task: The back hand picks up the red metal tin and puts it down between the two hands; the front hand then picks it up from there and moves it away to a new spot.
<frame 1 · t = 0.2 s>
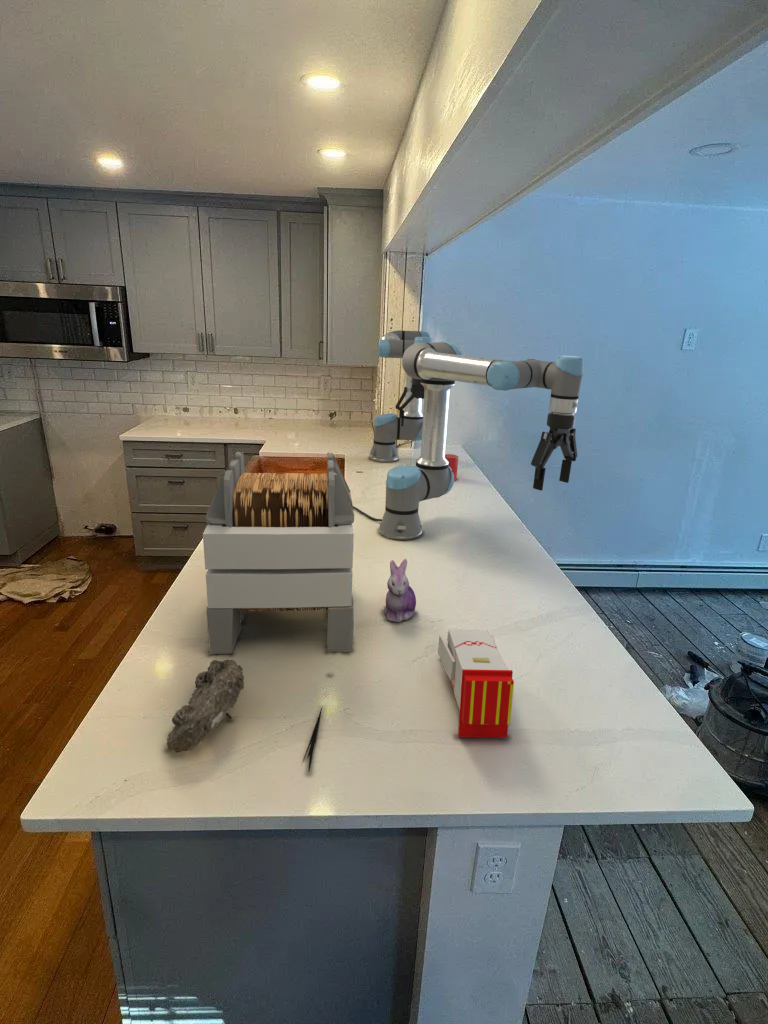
front hand: (550, 485, 166), 28 cm above the counter, tool pointing down, fingers open, 13 cm apart
back hand: (418, 426, 243), 28 cm above the counter, tool pointing down, fingers open, 13 cm apart
figurine: (399, 614, 147), on the counter
fossil: (212, 717, 108), on the counter
tin: (448, 478, 268), on the counter
record crate stand: (285, 616, 144), on the counter
toy: (469, 691, 119), on the counter
feather: (319, 719, 109), on the counter
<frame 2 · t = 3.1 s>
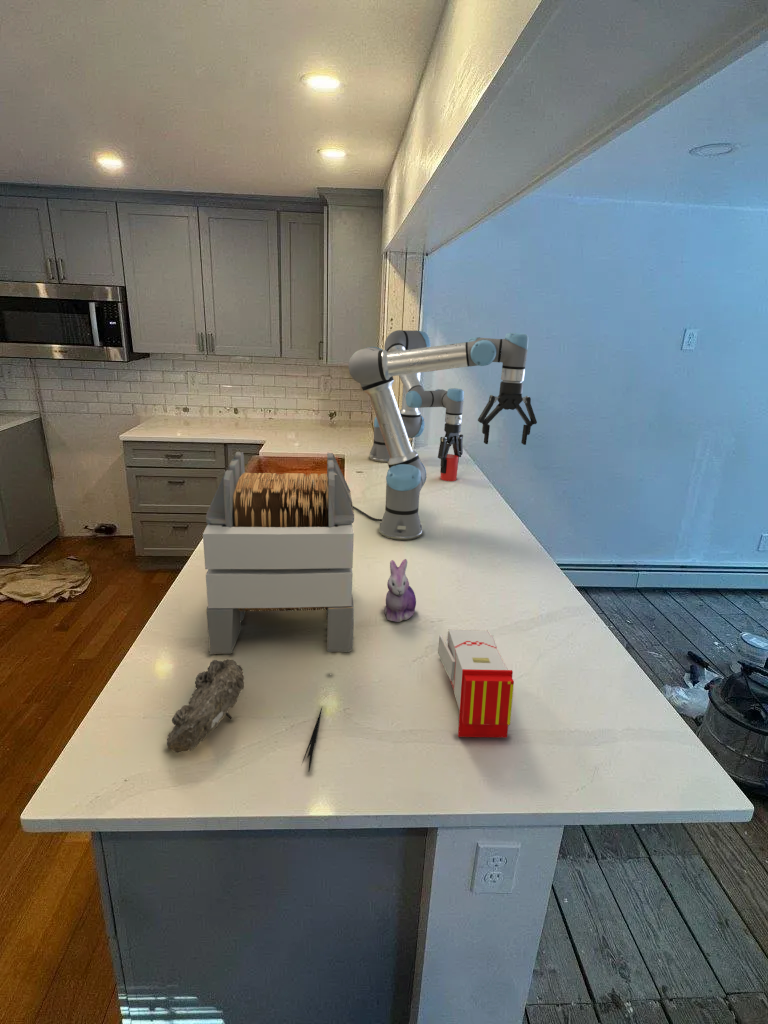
front hand: (504, 443, 197), 32 cm above the counter, tool pointing down, fingers open, 13 cm apart
back hand: (449, 471, 267), 4 cm above the counter, tool pointing down, fingers closed on tin, 8 cm apart
tin: (448, 478, 268), on the counter, touching back hand
everything else where it was.
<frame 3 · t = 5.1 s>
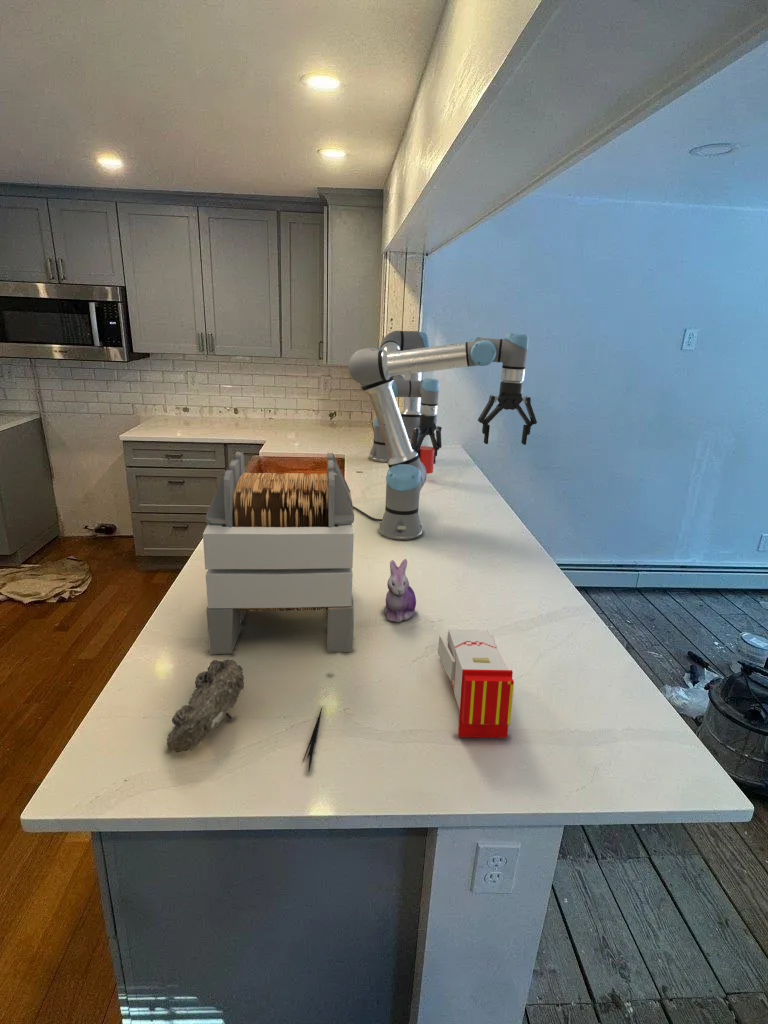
front hand: (504, 443, 197), 32 cm above the counter, tool pointing down, fingers open, 13 cm apart
back hand: (425, 463, 261), 8 cm above the counter, tool pointing down, fingers closed on tin, 8 cm apart
tin: (424, 471, 262), point 4 cm above the counter, touching back hand
everything else where it was.
when the back hand's fingers open (6 cm above the counter, at t = 7.5 s): tin drops 2 cm, on the counter.
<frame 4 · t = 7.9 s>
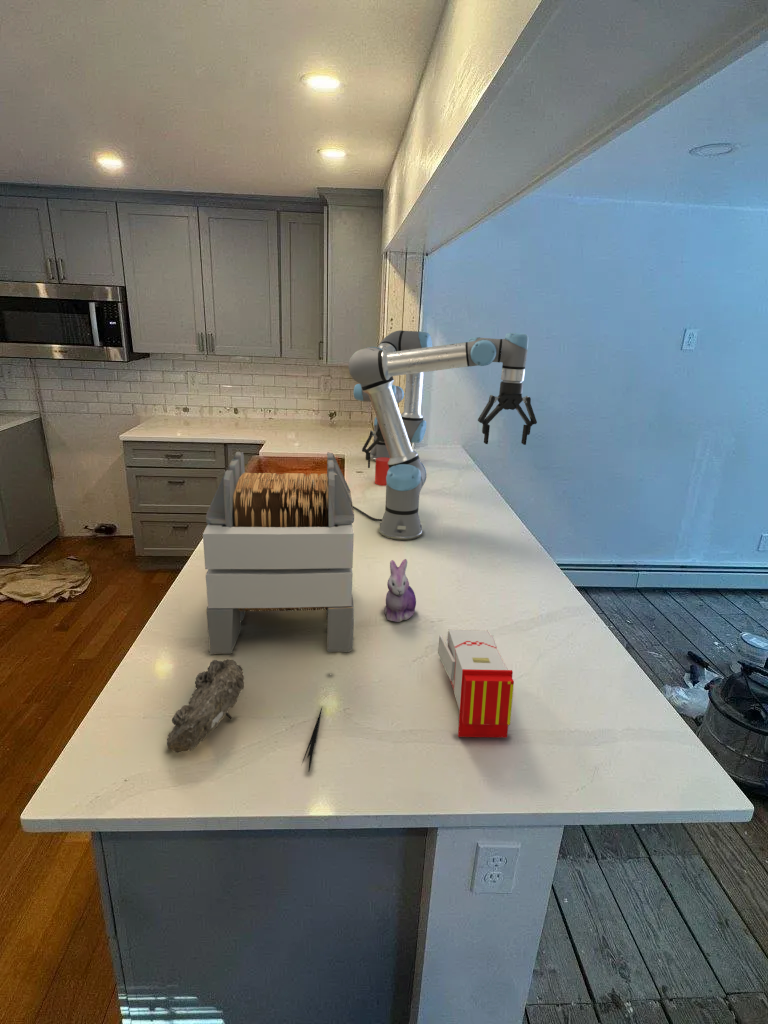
front hand: (504, 443, 197), 32 cm above the counter, tool pointing down, fingers open, 13 cm apart
back hand: (383, 467, 255), 7 cm above the counter, tool pointing down, fingers open, 13 cm apart
tin: (383, 483, 257), on the counter
everything else where it was.
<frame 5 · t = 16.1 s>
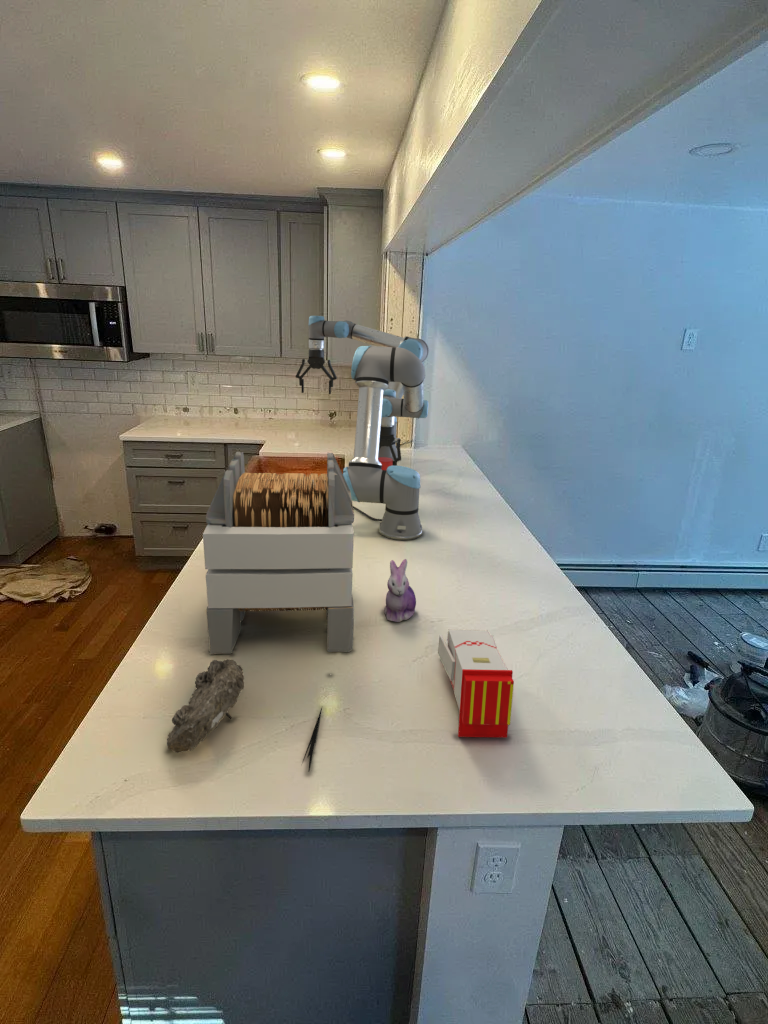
front hand: (383, 475, 256), 4 cm above the counter, tool pointing down, fingers closed on tin, 8 cm apart
back hand: (316, 393, 284), 33 cm above the counter, tool pointing down, fingers open, 13 cm apart
tin: (383, 483, 257), on the counter, touching front hand
everything else where it was.
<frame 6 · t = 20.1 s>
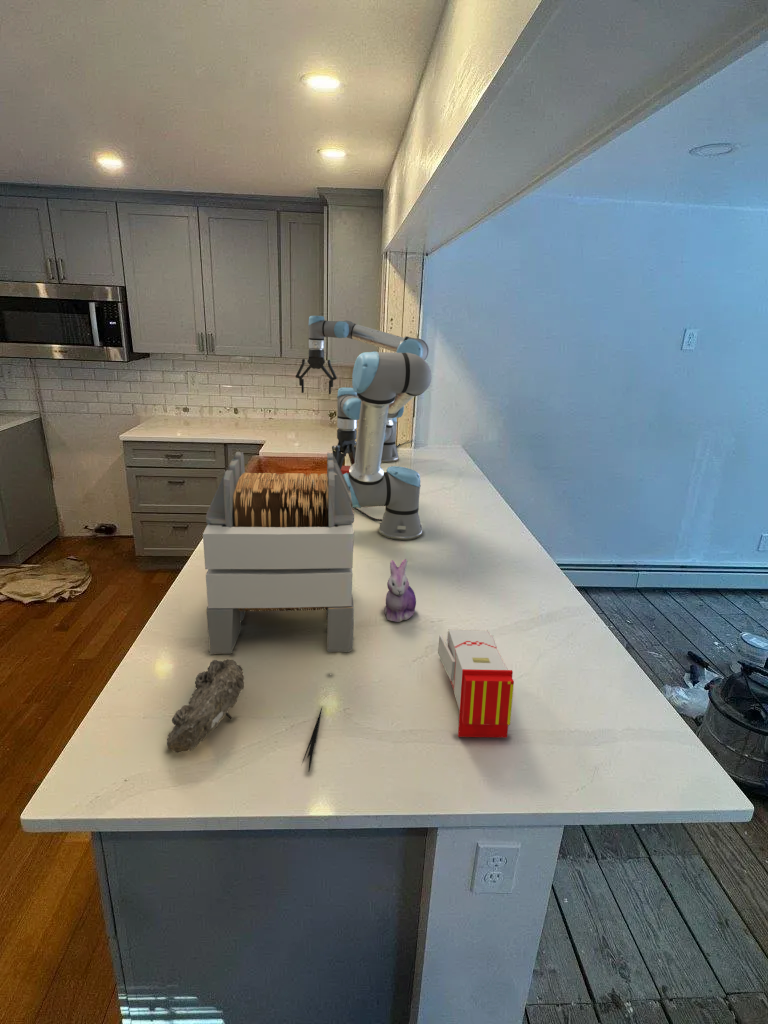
front hand: (345, 486, 224), 8 cm above the counter, tool pointing down, fingers closed on tin, 8 cm apart
back hand: (316, 393, 284), 33 cm above the counter, tool pointing down, fingers open, 13 cm apart
tin: (345, 494, 225), point 4 cm above the counter, touching front hand
everything else where it was.
when the front hand's fingers open (6 cm above the counter, at t = 24.4 s): tin drops 2 cm, on the counter.
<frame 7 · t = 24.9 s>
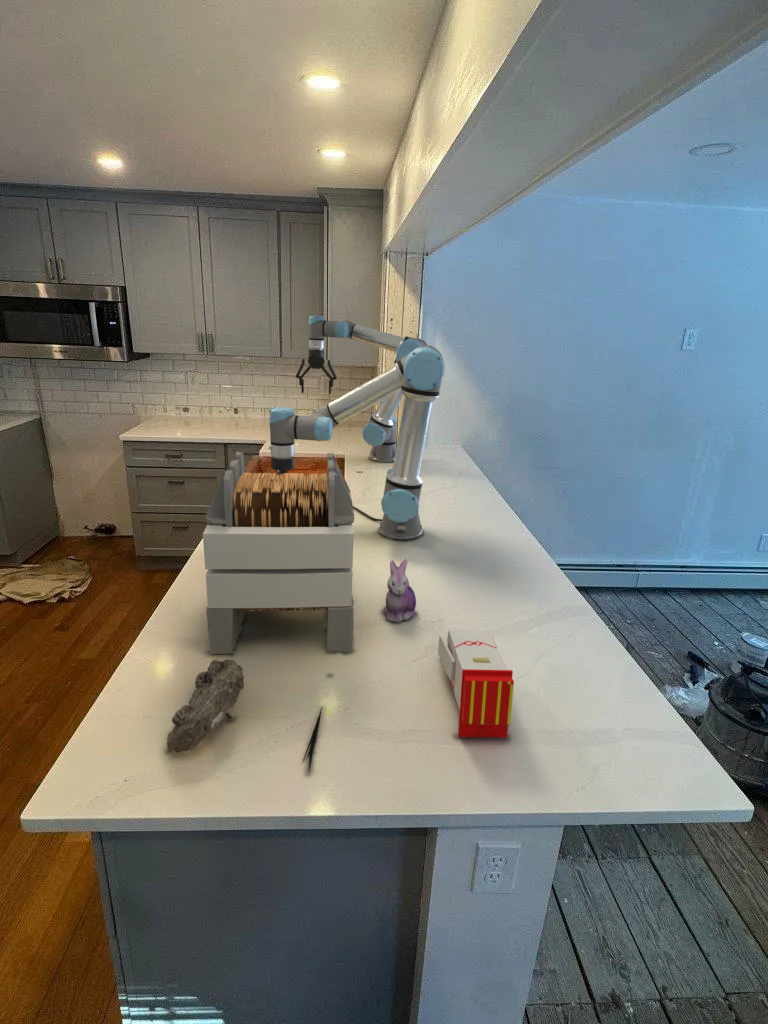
front hand: (284, 518, 189), 7 cm above the counter, tool pointing down, fingers open, 13 cm apart
back hand: (316, 393, 284), 33 cm above the counter, tool pointing down, fingers open, 13 cm apart
tin: (284, 538, 191), on the counter
everything else where it was.
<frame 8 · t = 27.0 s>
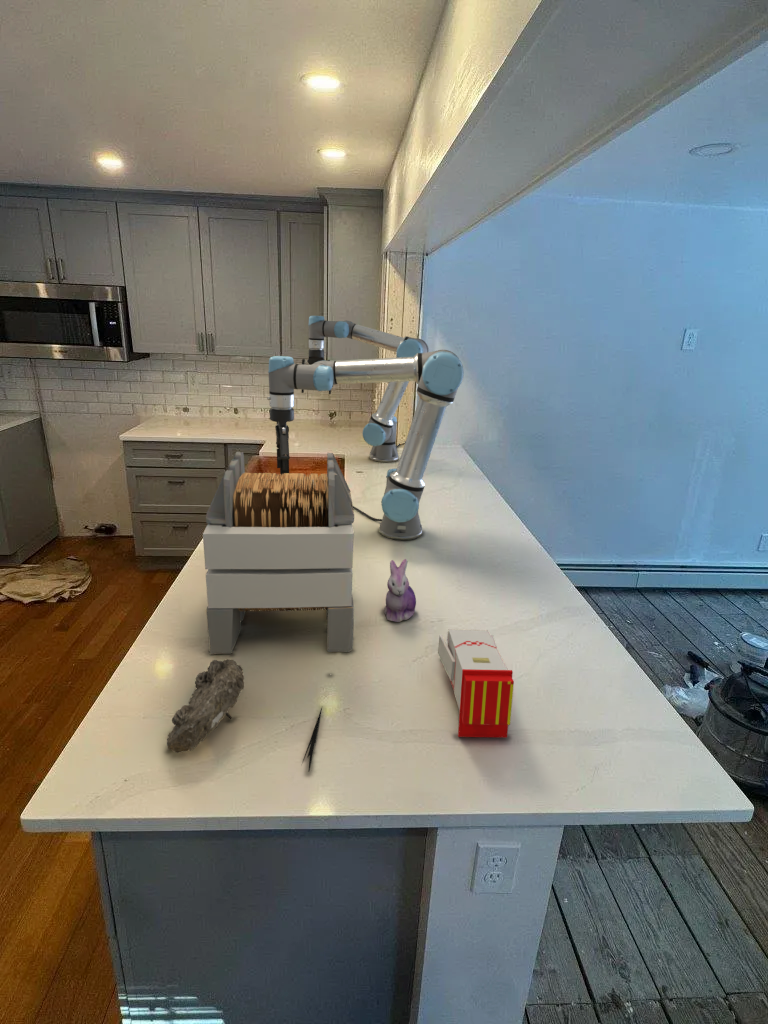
front hand: (282, 473, 184), 23 cm above the counter, tool pointing down, fingers open, 13 cm apart
back hand: (316, 393, 284), 33 cm above the counter, tool pointing down, fingers open, 13 cm apart
nothing on the counter moved.
at the end: tin inside the target area (0.1 cm from its centre), on the counter; tin tilted 0°; the two hands never held the tin at the same time; the front hand is holding nothing; the back hand is holding nothing; tin at rest at the end (0.0 cm/s) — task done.
